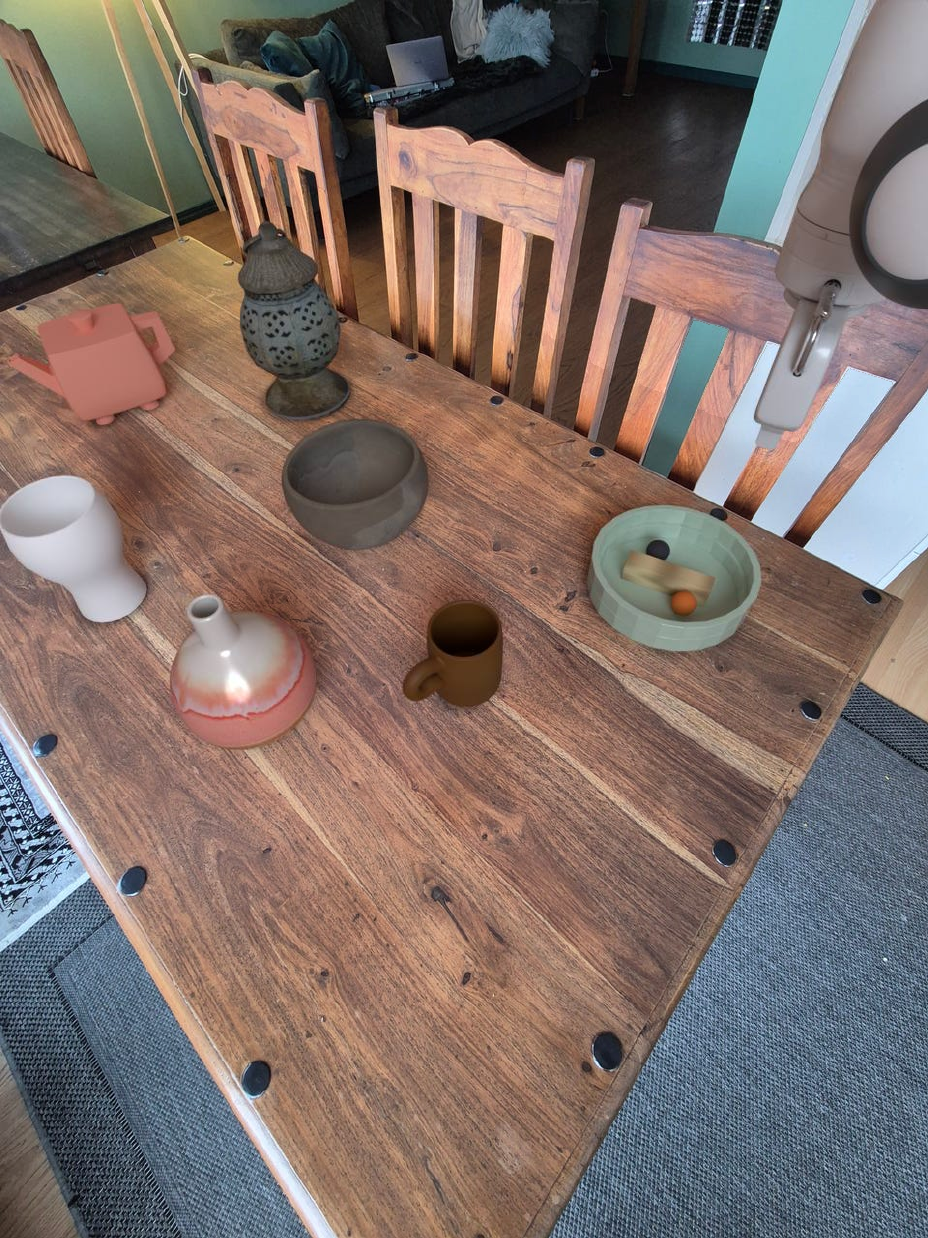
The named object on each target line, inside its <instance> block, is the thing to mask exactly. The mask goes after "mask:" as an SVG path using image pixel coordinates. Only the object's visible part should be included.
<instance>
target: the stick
mask: <svg viewBox="0 0 928 1238" xmlns="http://www.w3.org/2000/svg"><path fill="white" fill-rule="evenodd" d="M621 579H624V580H627V581H630V582H633V583H636V584H639V585H641V586H644V587H647V588H650V589H653V590H656V591H659V592H662V593H664V594H667V595H670V596H674V595H675V594H676V593H678V592H680V591H687V592H690V593H692V594H693V595H694V596H695V598H696V601H697V605H699V606H702V607H704V606H705V603H706V601H707V599H708V597H709V594H710V592H711V589H712V587H713V584H714V581H715V577H712V576H709V575H706V574H703V573H700V572H697V571H694V570H691V569H688V568H685V567H682V566H679V565H676V564H673V563H670V562H667V561H664V560H661V559H658V558H655V557H652V556H649V555H646V554H643V553H640V552H637V551H634V550H631V551H630V553H629V555H628V558H627V560H626V562H625V564H624V568H623V572H622V576H621Z"/></svg>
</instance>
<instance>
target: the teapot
mask: <svg viewBox="0 0 928 1238" xmlns="http://www.w3.org/2000/svg"><path fill="white" fill-rule="evenodd" d="M150 327H151V330H152V332H153V335H154V337H155V341H154V342H153V343H151V344H150V345H149V346H148V344H147V342H146V340H145V338H144V337H143V335H142V333H141V332H140V331H142V330H144V329H147V328H150ZM37 332H38V335H39V338H40V341H41V344H42V347H43V349H44V352H45V355H46V358H47V360H48V363H49V365H48V364H46V363H43V362H40V361H38V360H35V359H33V358H30V357H27V356H24V355H22V354H19V352H16V353H14V354H12V355H11V356H9V357H7V358H6V359H5V360H6V363H7V365H8V366H10V367H11V368H13V369H15V370H16V371H18V372H20V373H22V374H23V375H25V376H27V377H28V378H30V379H32V380H34V381H35V382H36V383H39V384H40V385H42V386H44V387H45V388H47V389H49V390H50V391H53V392H54V393H56V394H58V395H59V396H61V397H64V398H65V400H66V402H67V404H68V406H69V407H70V409H71V410H72V412H74V414H75V415H76V416H77V417H78V418H79V419H80V420H81V421H82V422H86V421H88V422H89V421H92V420H93V421H94V420H95V422H96V424H97V425H100V426H103V425H108V424H111V423H112V422H114V421H115V419H116V415H115V414H118V413H121V412H125V411H128V410H131V409H134V408H138V407H140V408H141V409H142V410H143V411H153V410H155V409H157V408H158V407H159V405H160V401H159V399H161V398H163V397H165V396H167V395H168V393H167V387H166V382H165V379H164V376H163V374H162V372H161V370H160V367H159V366H160V365H162V364H163V362H165V361H166V360H167V359H168V358H169V357H170V356H171V355H172V353H174V352H175V351H176V348H175V346H174V344H173V342H172V340H171V338H170V336H169V333H168V332H167V330H166V327H165V326H164V323H163V322H162V319H161V318H160V315H159V313H158V312H157V310H153V311H149V312H144V313H139V314H133V315H130V314H129V313H128V311H127V310H126V308H125V306H124V305H123V304H122V303H120V302H118V303H111V304H107V305H102V306H97V307H94V308H90V309H79V310H78V309H77V310H75V311H72V312H71V313H69V314H67V315H64V316H60V317H57V318H53V319H50V320H47V321H45V322H41V323H39V324H38V325H37Z"/></svg>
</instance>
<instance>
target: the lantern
mask: <svg viewBox="0 0 928 1238" xmlns="http://www.w3.org/2000/svg"><path fill="white" fill-rule="evenodd" d="M242 252H243V253H244V254H246V258H245V261H244V263H243V264H242V266H241V268H240V269H239V271H238V274H237V282H238V284H239V286H240V287H241V289H242V290H243V292H244V295H243V299H242V302H241V305H240V308H239V329H240V333H241V337H242V340H243V343H244V347H245V350H246V352H247V354H248V355H249V357H250V359H251V360H252V361H253V363H254V365H255V366H257V367H258V368H260V369H261V370H263V371H264V372H267V373H269V374H270V375H272V376H274V377H276V378H275V380H274V381H273V382H272V383H271V384H270V385H269V387H268V389H267V390H266V392H265V400H264V401H265V404H266V406H267V408H268V410H269V412H271V413H272V414H274V415H275V416H277V417H278V418H281V419H285V420H288V421H298V422H304V421H305V422H306V421H313V420H319V419H321V418H324V417H328V416H330V415H332V414H334V413H336V412H337V411H339V410H340V409H341V408H342V407H344V406H345V405H346V403H347V402H348V400H349V399H350V396H351V387H350V383H349V382H348V380H347V378H345V377H344V376H343V375H341V374H339V372H336V371H335V370H333V369H331V368H328V367H329V366H330V364H331V363H332V362H333V360H334V359H335V358H336V356H337V354H338V350H339V344H340V339H341V333H342V329H341V324H340V318H339V313H338V312H337V310H336V308H335V306H334V304H333V303H332V301H331V299H330V298H329V296H328V295H327V293H326V292H325V290H324V289H323V288H322V287H321V285H320V284H319V283H318V282H317V280H316V279H315V278H316V277H317V275H318V273H319V268H318V264H317V262H316V260H314V258H313V257H311V256H310V255H308V254H307V253H305V252H304V251H301V250H300V249H299V248H298V247H297V245H295V244H294V242H292V241H291V239H290V238H289V237H287V234H286V232H285V231H284V229H282V228H277V226H276V224H274V223H273V222H271V221H268V220H265V221H262V222H261V223H260V224H259V226H258V228H257V234H256V235H254V236H253V237H250V238H249V239H248V240H246V242H245V243H243V246H242Z"/></svg>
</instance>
